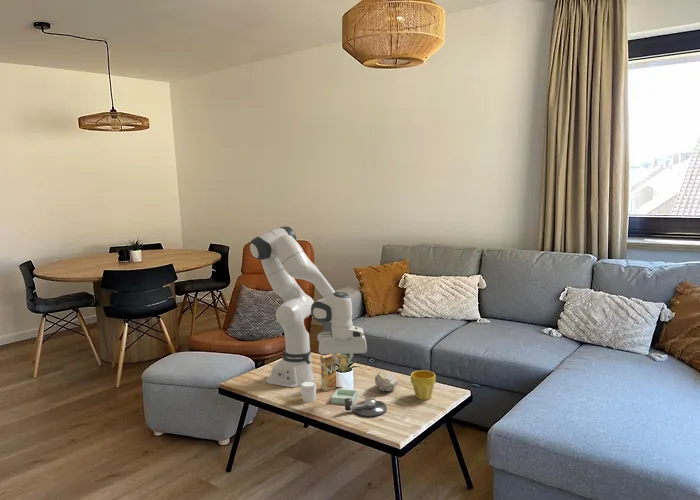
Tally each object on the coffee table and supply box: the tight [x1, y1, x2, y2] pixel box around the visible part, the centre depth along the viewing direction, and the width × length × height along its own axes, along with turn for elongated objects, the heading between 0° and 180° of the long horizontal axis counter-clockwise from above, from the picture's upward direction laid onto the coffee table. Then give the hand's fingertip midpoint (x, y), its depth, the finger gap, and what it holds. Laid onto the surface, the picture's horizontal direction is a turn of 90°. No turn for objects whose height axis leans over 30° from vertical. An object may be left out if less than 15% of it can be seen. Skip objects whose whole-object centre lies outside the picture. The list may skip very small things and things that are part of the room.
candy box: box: [320, 354, 340, 392], centre depth 234 cm, size 9×4×15 cm, turn 120°
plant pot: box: [410, 369, 437, 401], centre depth 221 cm, size 10×10×10 cm
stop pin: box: [339, 354, 349, 373], centre depth 220 cm, size 4×4×6 cm
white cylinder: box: [299, 381, 317, 403], centre depth 223 cm, size 7×7×7 cm
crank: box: [344, 397, 377, 412], centre depth 210 cm, size 12×4×4 cm, turn 100°
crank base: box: [353, 400, 388, 418], centre depth 211 cm, size 13×13×1 cm
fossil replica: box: [374, 369, 398, 392], centre depth 231 cm, size 12×8×10 cm
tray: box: [330, 388, 359, 405], centre depth 222 cm, size 9×9×2 cm
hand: (343, 363), depth 220 cm, fingers closed on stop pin, 4 cm apart
